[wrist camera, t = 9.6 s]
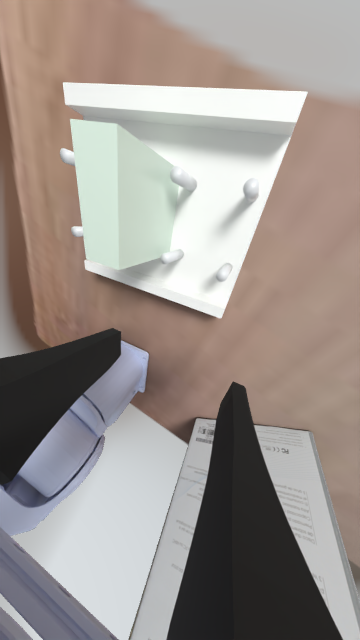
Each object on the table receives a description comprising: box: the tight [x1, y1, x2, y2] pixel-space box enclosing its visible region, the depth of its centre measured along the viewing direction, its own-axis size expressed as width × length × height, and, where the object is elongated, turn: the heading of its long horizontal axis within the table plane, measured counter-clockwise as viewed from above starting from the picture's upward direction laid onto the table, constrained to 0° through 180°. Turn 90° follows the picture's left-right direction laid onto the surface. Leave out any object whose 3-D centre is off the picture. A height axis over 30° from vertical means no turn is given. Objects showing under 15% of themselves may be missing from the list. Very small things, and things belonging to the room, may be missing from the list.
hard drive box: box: [129, 418, 360, 640], centre depth 17 cm, size 16×8×20 cm, turn 113°
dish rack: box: [60, 82, 308, 318], centre depth 14 cm, size 13×16×4 cm
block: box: [70, 119, 179, 270], centre depth 11 cm, size 6×2×7 cm, turn 168°
